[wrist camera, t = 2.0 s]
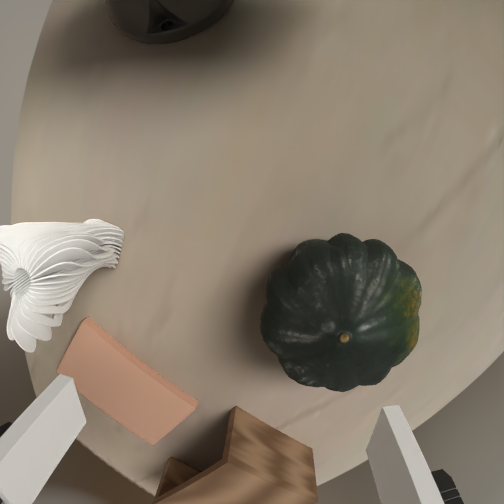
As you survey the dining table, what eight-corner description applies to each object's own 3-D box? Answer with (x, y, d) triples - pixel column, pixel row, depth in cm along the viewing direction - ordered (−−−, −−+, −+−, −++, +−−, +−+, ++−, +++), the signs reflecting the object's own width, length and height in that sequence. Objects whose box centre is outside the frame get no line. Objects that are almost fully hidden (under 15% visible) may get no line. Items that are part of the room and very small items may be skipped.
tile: (62, 365, 39) (56, 371, 37) (90, 314, 36) (82, 321, 34) (156, 437, 41) (153, 445, 39) (199, 399, 38) (196, 408, 36)
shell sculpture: (85, 196, 32) (-36, 219, 15) (144, 221, 33) (35, 266, 15) (70, 260, 34) (-36, 315, 17) (125, 288, 34) (31, 368, 17)
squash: (402, 385, 30) (467, 364, 16) (267, 399, 31) (247, 391, 18) (386, 270, 36) (424, 193, 23) (265, 279, 38) (247, 203, 25)
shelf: (168, 459, 41) (152, 505, 31) (236, 405, 37) (227, 462, 28) (236, 493, 43) (231, 538, 33) (312, 448, 39) (318, 501, 29)
